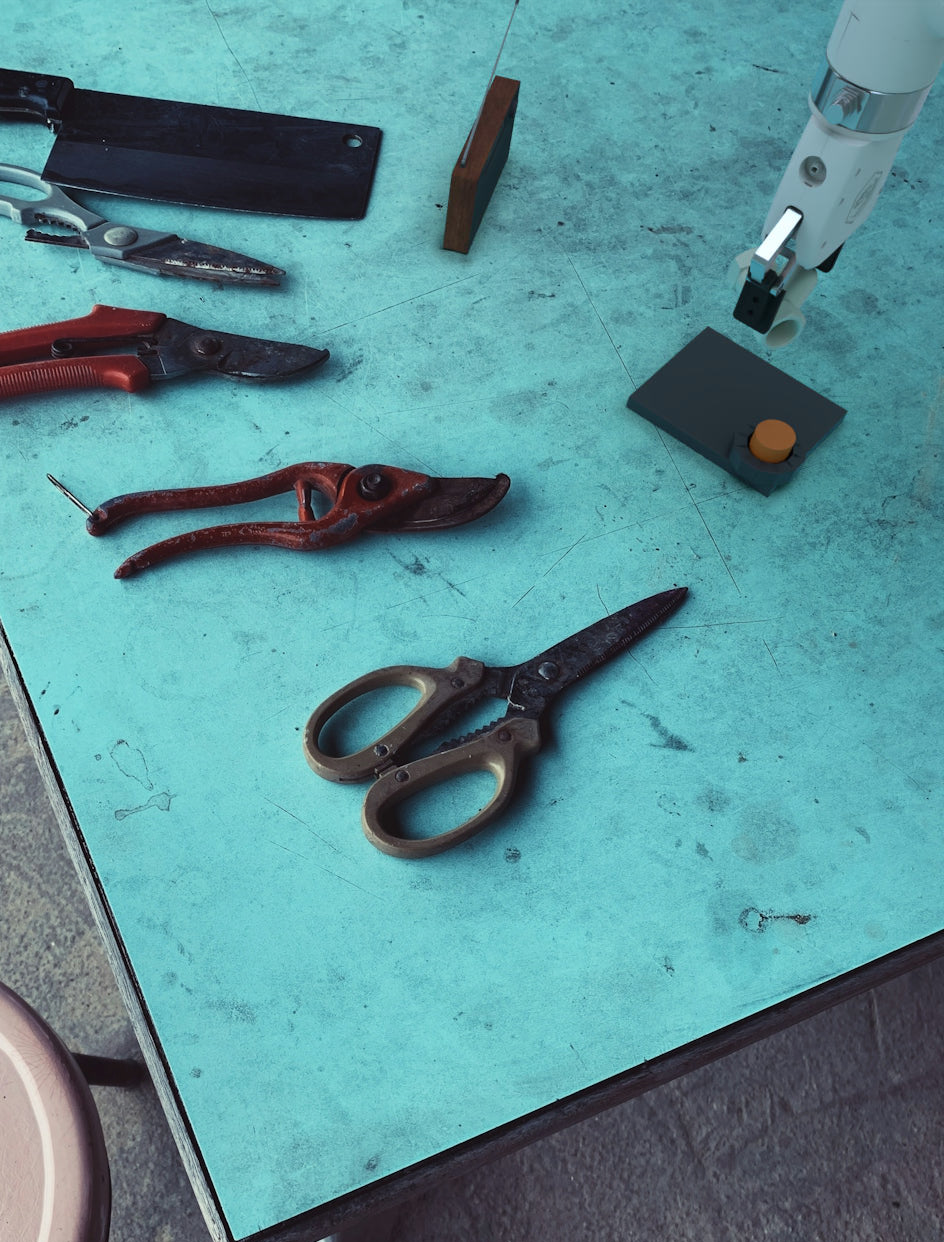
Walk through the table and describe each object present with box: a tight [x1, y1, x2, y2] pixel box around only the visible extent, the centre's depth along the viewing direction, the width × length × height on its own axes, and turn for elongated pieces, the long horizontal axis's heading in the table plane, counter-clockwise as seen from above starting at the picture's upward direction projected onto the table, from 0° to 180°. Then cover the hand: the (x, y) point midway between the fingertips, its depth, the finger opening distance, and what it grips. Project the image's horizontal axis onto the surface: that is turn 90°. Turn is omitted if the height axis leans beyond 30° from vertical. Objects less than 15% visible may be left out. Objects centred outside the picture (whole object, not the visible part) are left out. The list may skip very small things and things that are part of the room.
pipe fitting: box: [725, 246, 819, 352], centre depth 98 cm, size 8×4×7 cm
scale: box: [625, 325, 849, 498], centre depth 112 cm, size 17×14×3 cm
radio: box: [442, 0, 522, 254], centre depth 120 cm, size 19×3×15 cm, turn 162°
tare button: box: [749, 420, 796, 463], centre depth 107 cm, size 4×4×2 cm
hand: (782, 293), depth 97 cm, fingers closed on pipe fitting, 9 cm apart
